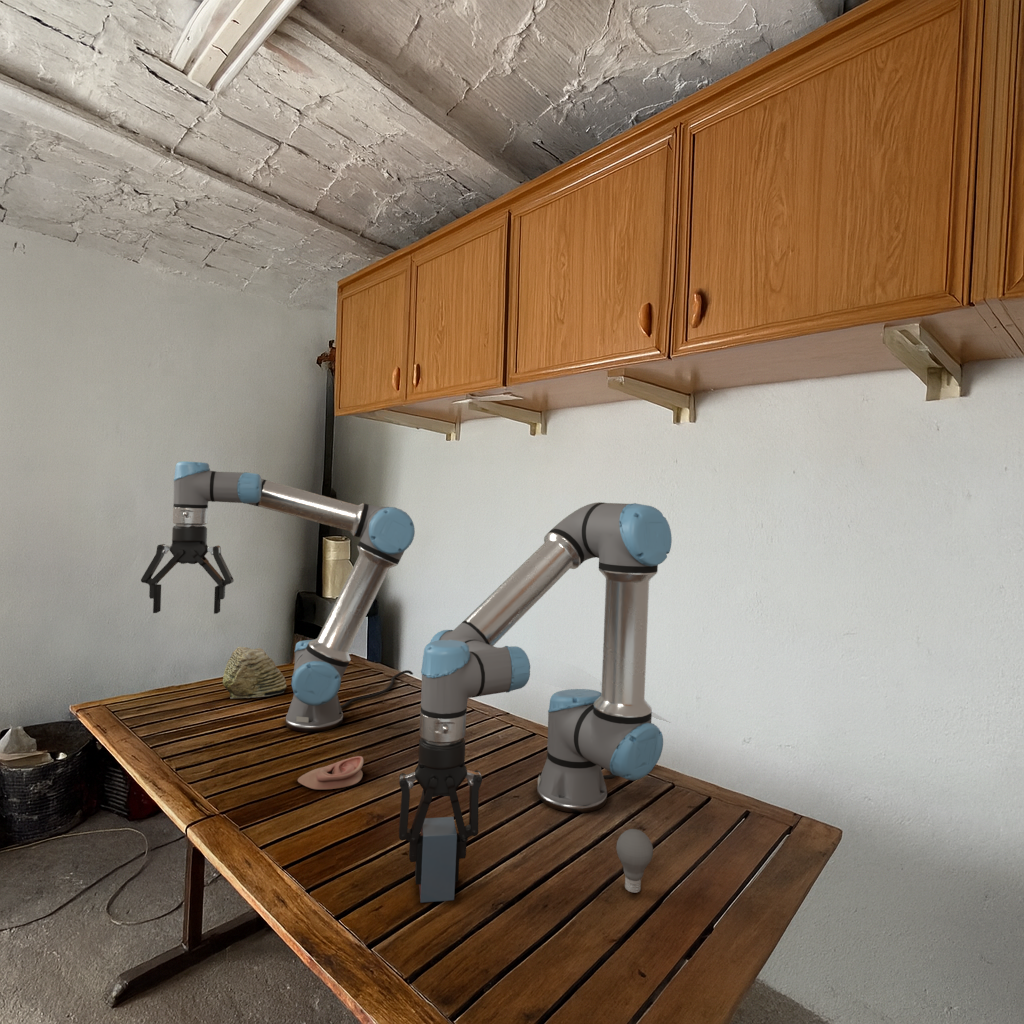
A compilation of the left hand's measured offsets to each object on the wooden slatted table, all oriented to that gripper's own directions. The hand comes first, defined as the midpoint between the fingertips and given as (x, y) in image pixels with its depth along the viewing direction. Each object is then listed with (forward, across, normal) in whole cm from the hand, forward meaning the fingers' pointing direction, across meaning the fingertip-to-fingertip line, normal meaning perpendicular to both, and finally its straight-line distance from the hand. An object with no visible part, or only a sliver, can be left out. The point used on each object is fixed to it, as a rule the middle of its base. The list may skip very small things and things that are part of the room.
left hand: (187, 612), depth 154 cm
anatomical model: (+34, +37, -20) cm, 54 cm away
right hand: (+31, +57, -63) cm, 91 cm away
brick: (+34, +57, -63) cm, 92 cm away
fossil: (+34, +8, +42) cm, 55 cm away
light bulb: (+34, +90, -68) cm, 117 cm away
